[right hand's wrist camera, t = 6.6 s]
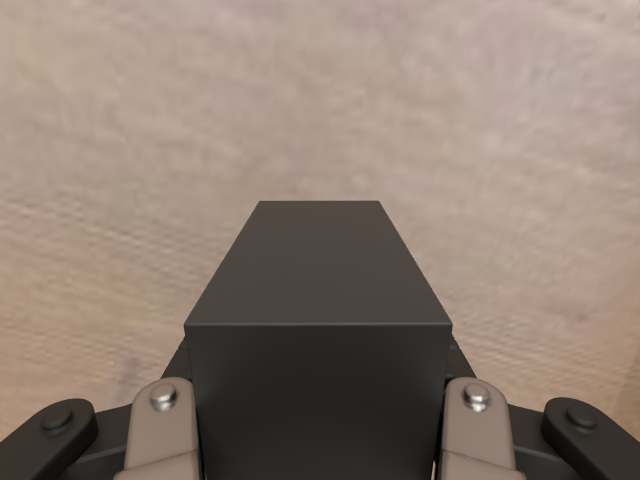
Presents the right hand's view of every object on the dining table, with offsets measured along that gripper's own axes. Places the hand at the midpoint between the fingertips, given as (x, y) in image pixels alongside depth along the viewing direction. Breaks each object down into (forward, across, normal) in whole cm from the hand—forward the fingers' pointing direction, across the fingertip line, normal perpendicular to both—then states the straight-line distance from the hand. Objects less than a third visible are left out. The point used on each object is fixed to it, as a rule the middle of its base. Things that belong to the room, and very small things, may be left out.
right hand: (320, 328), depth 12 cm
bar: (+5, 0, -10) cm, 11 cm away
